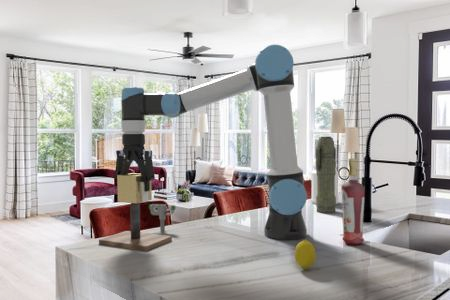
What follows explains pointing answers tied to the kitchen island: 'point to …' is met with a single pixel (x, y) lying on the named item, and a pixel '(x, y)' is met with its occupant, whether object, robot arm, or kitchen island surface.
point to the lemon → (305, 254)
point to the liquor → (353, 207)
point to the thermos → (326, 175)
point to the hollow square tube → (131, 188)
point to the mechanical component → (161, 212)
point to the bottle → (314, 183)
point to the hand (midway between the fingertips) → (134, 200)
